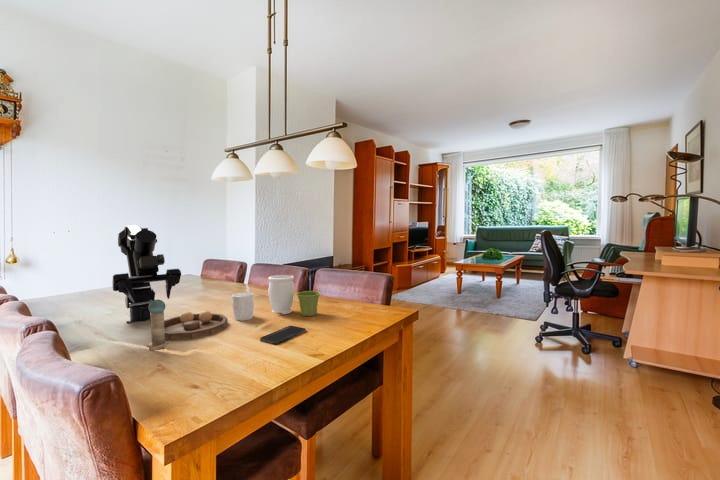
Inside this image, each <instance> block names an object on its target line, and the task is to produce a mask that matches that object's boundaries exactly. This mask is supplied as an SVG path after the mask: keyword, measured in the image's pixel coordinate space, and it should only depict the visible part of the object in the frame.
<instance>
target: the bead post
mask: <svg viewBox="0 0 720 480" xmlns="http://www.w3.org/2000/svg"><path fill="white" fill-rule="evenodd" d="M148 309H149V311H150V315H151V319H150V330H151V331H150V332H151V334H150V335H151V342H150V343H149V344H148V350H149V351H151V350H152V351H155V350H156V351H160V350H161V349H162V350H164V349H165V348H164V347H163V346H166V345H168V344H169V340H166V339H165V330H164V320H165V310H166V303H165V301H164V300H162V299H155V300H154V301H152V302H151V303H150V304H149V306H148ZM162 350H161V351H162Z"/></svg>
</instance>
